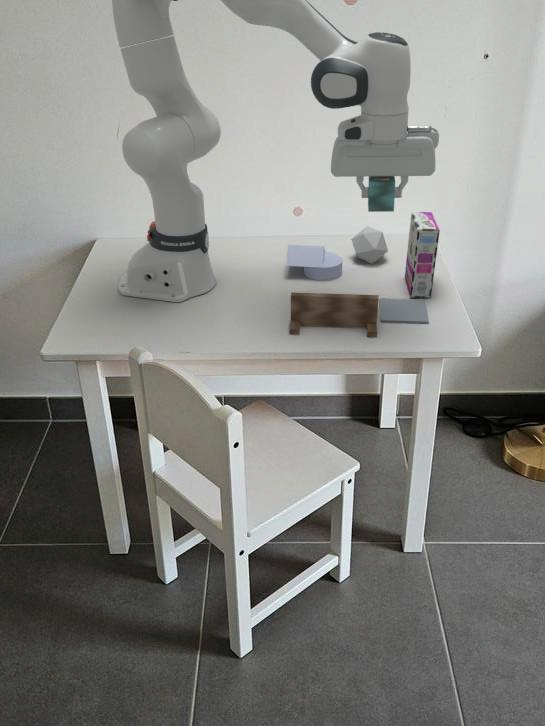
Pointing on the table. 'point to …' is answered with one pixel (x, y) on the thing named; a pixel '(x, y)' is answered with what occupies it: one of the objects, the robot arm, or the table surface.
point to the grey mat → (403, 311)
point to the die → (369, 245)
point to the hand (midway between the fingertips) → (381, 197)
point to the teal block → (381, 194)
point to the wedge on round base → (315, 261)
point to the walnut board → (334, 311)
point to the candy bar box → (421, 254)
